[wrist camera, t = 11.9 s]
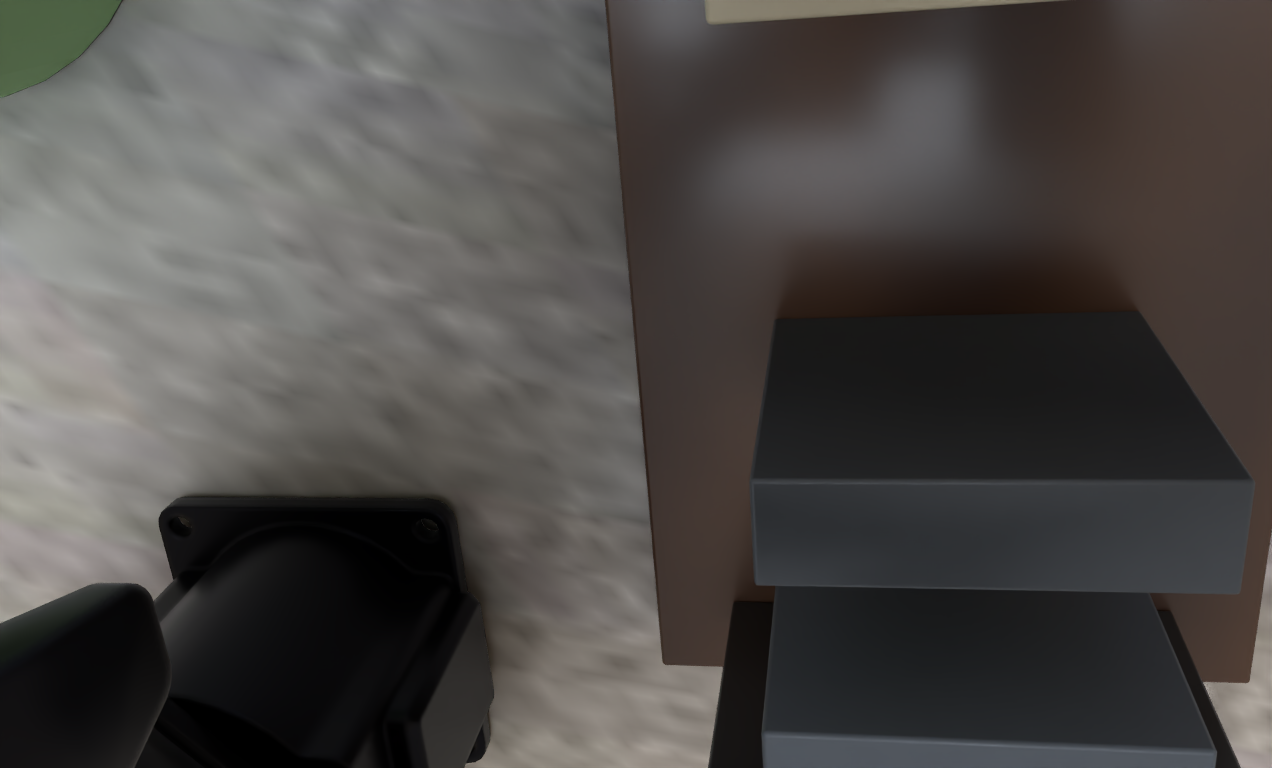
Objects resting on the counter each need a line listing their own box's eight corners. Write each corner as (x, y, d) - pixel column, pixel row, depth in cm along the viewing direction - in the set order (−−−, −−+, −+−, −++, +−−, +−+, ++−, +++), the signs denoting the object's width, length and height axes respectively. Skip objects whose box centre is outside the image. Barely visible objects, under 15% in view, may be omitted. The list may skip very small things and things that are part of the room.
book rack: (670, 631, 25) (619, 853, 19) (573, -525, 17) (442, -718, 11) (1230, 645, 23) (1357, 899, 17) (1409, -652, 15) (1743, -963, 9)
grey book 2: (777, 401, 21) (753, 587, 16) (773, 317, 20) (748, 479, 15) (1132, 398, 20) (1241, 596, 14) (1140, 309, 19) (1257, 481, 14)
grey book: (784, 592, 23) (765, 821, 17) (781, 519, 22) (760, 732, 16) (1114, 599, 21) (1206, 845, 16) (1121, 522, 21) (1219, 752, 15)
